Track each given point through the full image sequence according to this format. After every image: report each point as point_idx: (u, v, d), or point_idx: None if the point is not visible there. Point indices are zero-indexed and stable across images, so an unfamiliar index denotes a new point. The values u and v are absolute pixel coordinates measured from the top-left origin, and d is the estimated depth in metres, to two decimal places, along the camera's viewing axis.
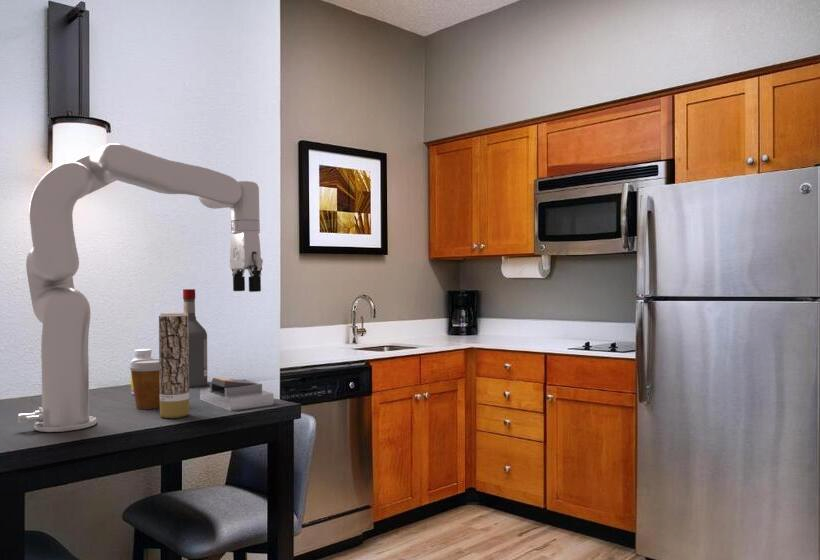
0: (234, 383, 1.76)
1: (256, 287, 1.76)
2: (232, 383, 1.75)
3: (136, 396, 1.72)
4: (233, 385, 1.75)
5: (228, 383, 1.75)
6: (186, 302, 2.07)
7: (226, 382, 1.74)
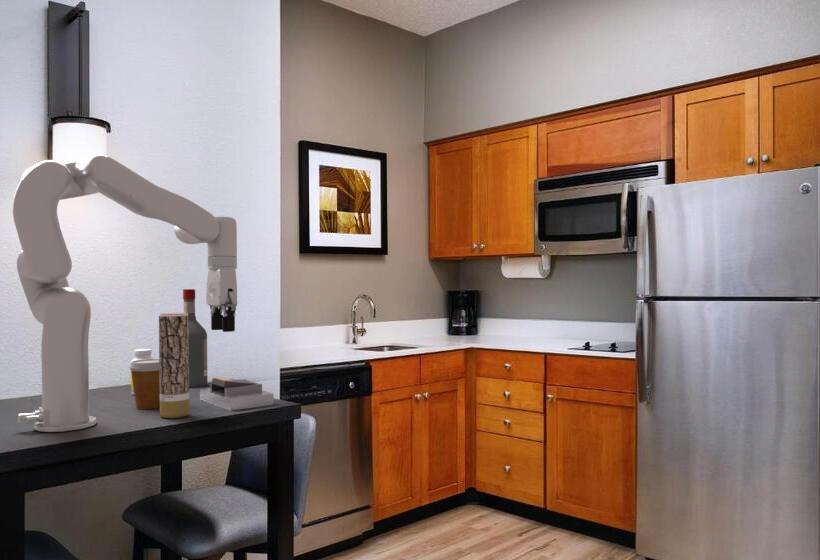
0: (234, 383, 1.76)
1: (230, 327, 1.74)
2: (232, 383, 1.75)
3: (136, 396, 1.72)
4: (233, 385, 1.75)
5: (228, 383, 1.75)
6: (186, 302, 2.07)
7: (226, 382, 1.74)
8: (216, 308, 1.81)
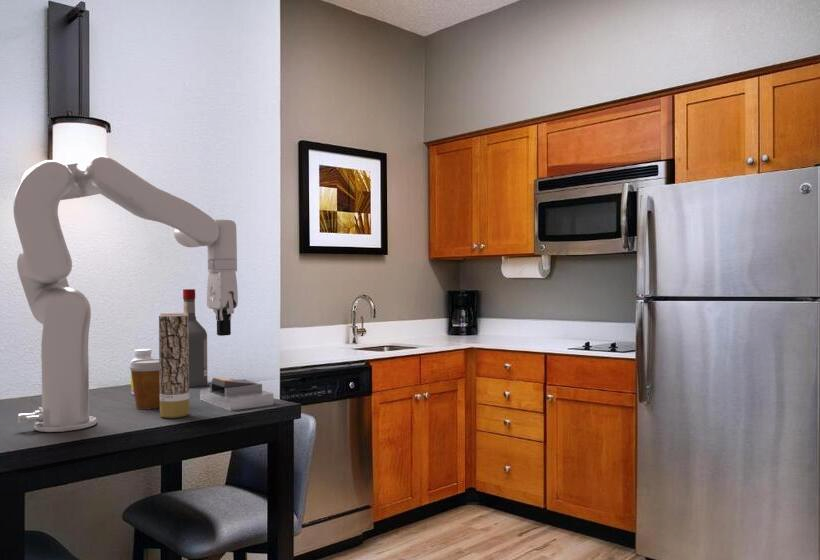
0: (234, 383, 1.76)
1: (226, 331, 1.77)
2: (232, 383, 1.75)
3: (136, 396, 1.72)
4: (233, 385, 1.75)
5: (228, 383, 1.75)
6: (186, 302, 2.07)
7: (226, 382, 1.74)
8: None
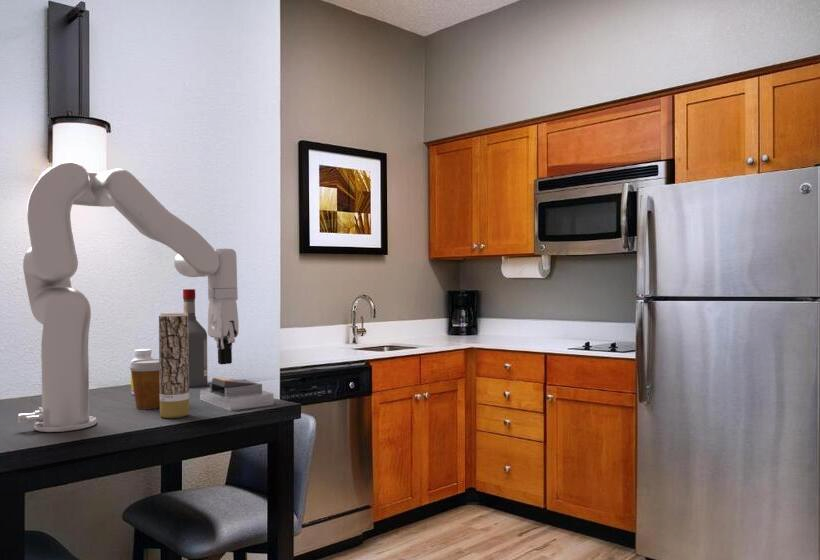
0: (234, 383, 1.76)
1: (227, 360, 1.77)
2: (232, 383, 1.75)
3: (136, 396, 1.72)
4: (233, 385, 1.75)
5: (228, 383, 1.75)
6: (186, 302, 2.07)
7: (226, 382, 1.74)
8: None
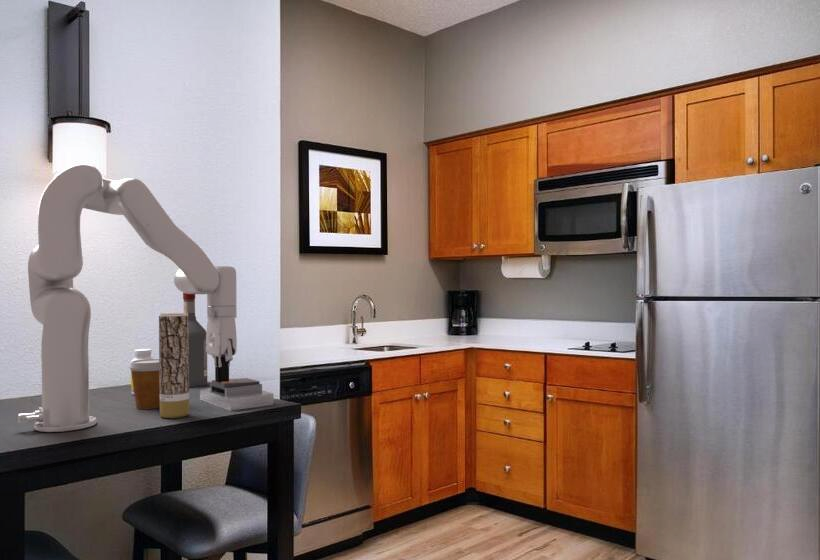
0: (234, 384, 1.76)
1: (224, 378, 1.76)
2: (232, 384, 1.75)
3: (136, 396, 1.72)
4: (233, 386, 1.75)
5: (228, 385, 1.74)
6: (186, 302, 2.07)
7: (226, 384, 1.74)
8: None
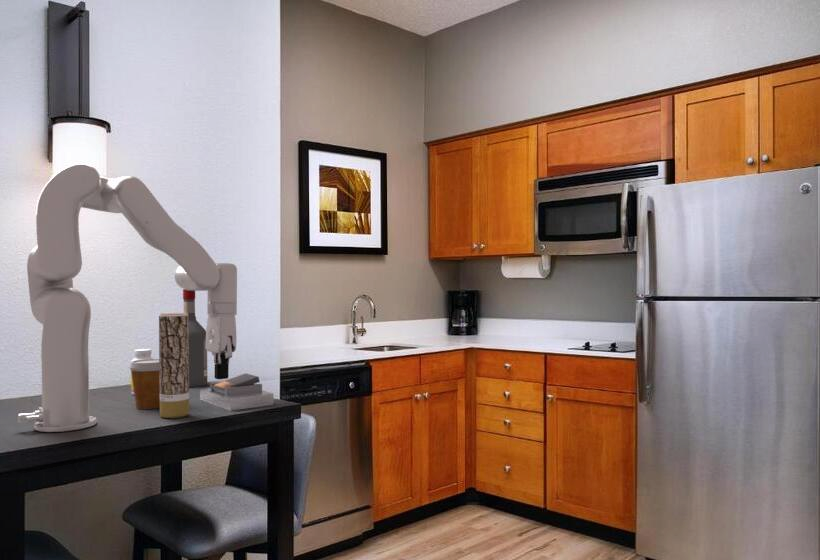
0: None
1: (223, 375, 1.76)
2: None
3: (136, 396, 1.72)
4: None
5: None
6: (186, 302, 2.07)
7: None
8: None
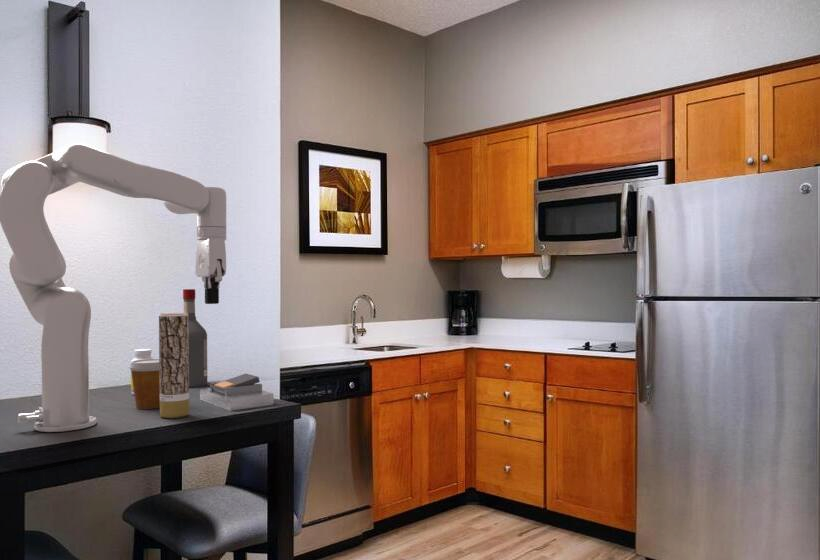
0: (234, 386, 1.75)
1: (214, 299, 1.76)
2: None
3: (136, 396, 1.72)
4: None
5: None
6: (186, 302, 2.07)
7: None
8: None
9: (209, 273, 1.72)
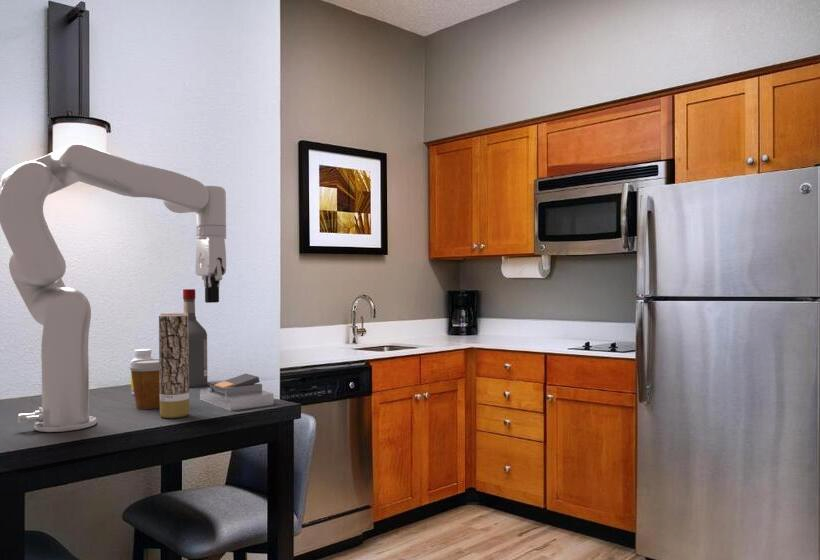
0: (234, 386, 1.75)
1: (214, 298, 1.76)
2: None
3: (136, 396, 1.72)
4: None
5: None
6: (186, 302, 2.07)
7: None
8: None
9: (209, 272, 1.72)
